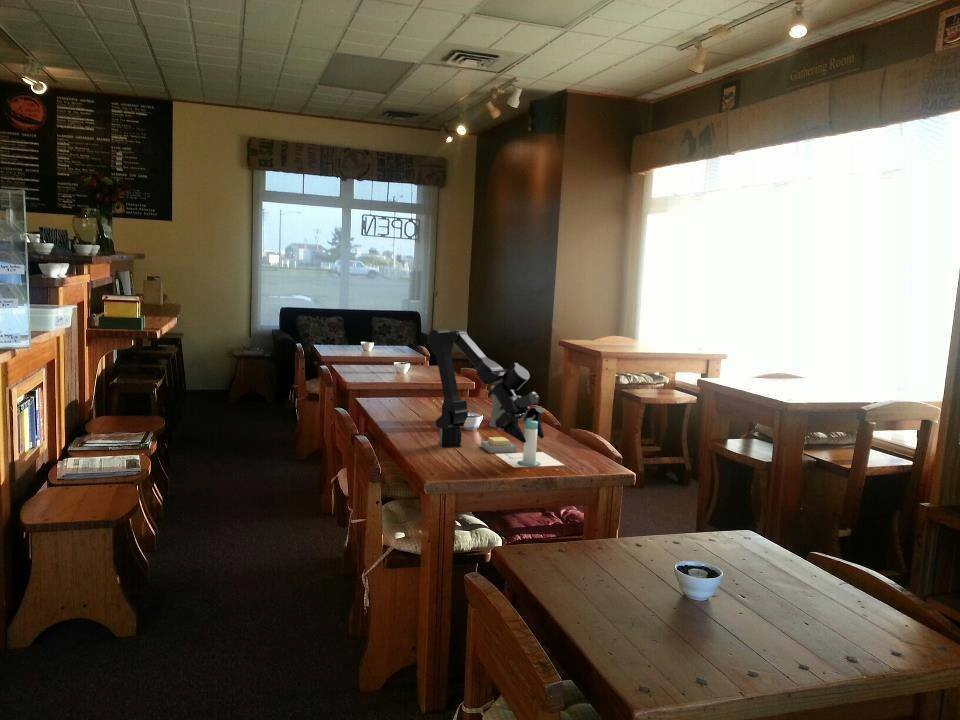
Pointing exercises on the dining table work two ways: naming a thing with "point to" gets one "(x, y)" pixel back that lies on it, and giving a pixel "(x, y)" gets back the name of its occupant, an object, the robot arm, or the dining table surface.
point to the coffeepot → (495, 411)
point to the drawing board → (517, 461)
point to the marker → (530, 442)
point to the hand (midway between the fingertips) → (534, 440)
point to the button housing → (498, 448)
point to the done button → (498, 441)
